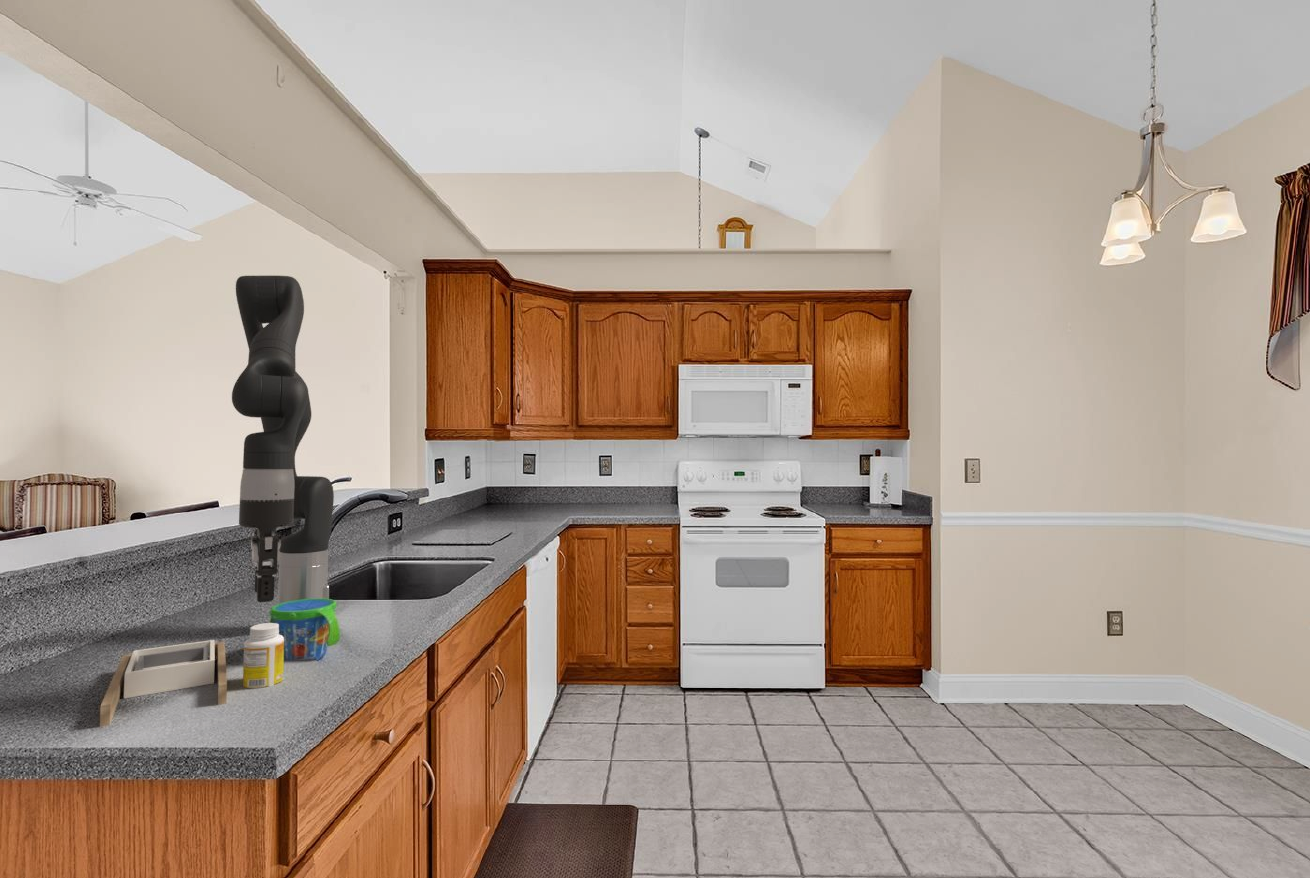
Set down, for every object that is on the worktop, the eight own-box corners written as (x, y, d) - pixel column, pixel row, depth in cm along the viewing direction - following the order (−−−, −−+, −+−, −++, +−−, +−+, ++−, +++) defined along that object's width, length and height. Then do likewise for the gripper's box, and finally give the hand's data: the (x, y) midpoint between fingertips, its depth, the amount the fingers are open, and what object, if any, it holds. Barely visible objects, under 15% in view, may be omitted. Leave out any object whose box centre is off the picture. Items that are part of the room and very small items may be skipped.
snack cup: (248, 660, 113) (250, 605, 113) (303, 645, 122) (305, 594, 122) (301, 675, 106) (303, 616, 106) (355, 657, 115) (357, 603, 115)
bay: (223, 663, 111) (224, 641, 111) (226, 711, 91) (227, 684, 91) (122, 679, 103) (122, 655, 103) (99, 735, 82) (100, 705, 82)
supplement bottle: (275, 680, 103) (277, 619, 103) (288, 688, 100) (290, 625, 100) (237, 689, 99) (239, 626, 99) (248, 699, 95) (250, 633, 96)
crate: (213, 660, 109) (214, 639, 109) (213, 683, 98) (214, 660, 98) (133, 672, 102) (133, 650, 102) (123, 698, 92) (124, 673, 92)
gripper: (298, 498, 96) (294, 602, 96) (290, 494, 108) (286, 586, 107) (241, 499, 92) (236, 608, 91) (238, 494, 104) (234, 591, 103)
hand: (263, 596), depth 99 cm, fingers open, 8 cm apart
